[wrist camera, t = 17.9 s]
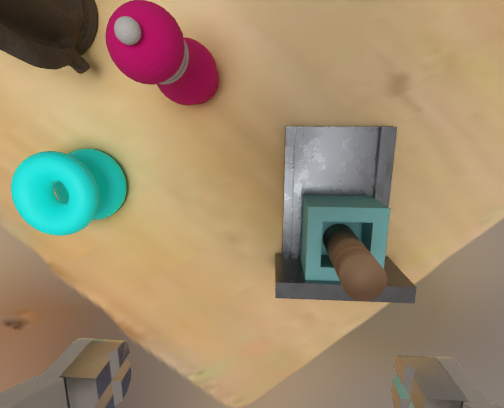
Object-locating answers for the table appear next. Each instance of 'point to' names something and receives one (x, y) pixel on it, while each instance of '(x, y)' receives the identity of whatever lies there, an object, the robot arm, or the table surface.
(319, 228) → the socket block
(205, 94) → the pepper mill
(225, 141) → the table surface
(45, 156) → the donuts
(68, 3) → the beer stein
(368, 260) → the dowel
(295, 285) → the track
